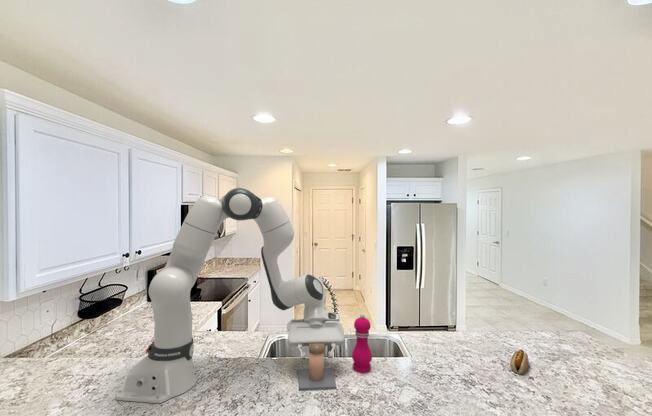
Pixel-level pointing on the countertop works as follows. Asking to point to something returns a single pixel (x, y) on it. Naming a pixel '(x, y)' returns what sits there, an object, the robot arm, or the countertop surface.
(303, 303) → the robot arm
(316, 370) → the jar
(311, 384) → the pad
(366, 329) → the pepper mill
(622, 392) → the countertop surface
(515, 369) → the food
